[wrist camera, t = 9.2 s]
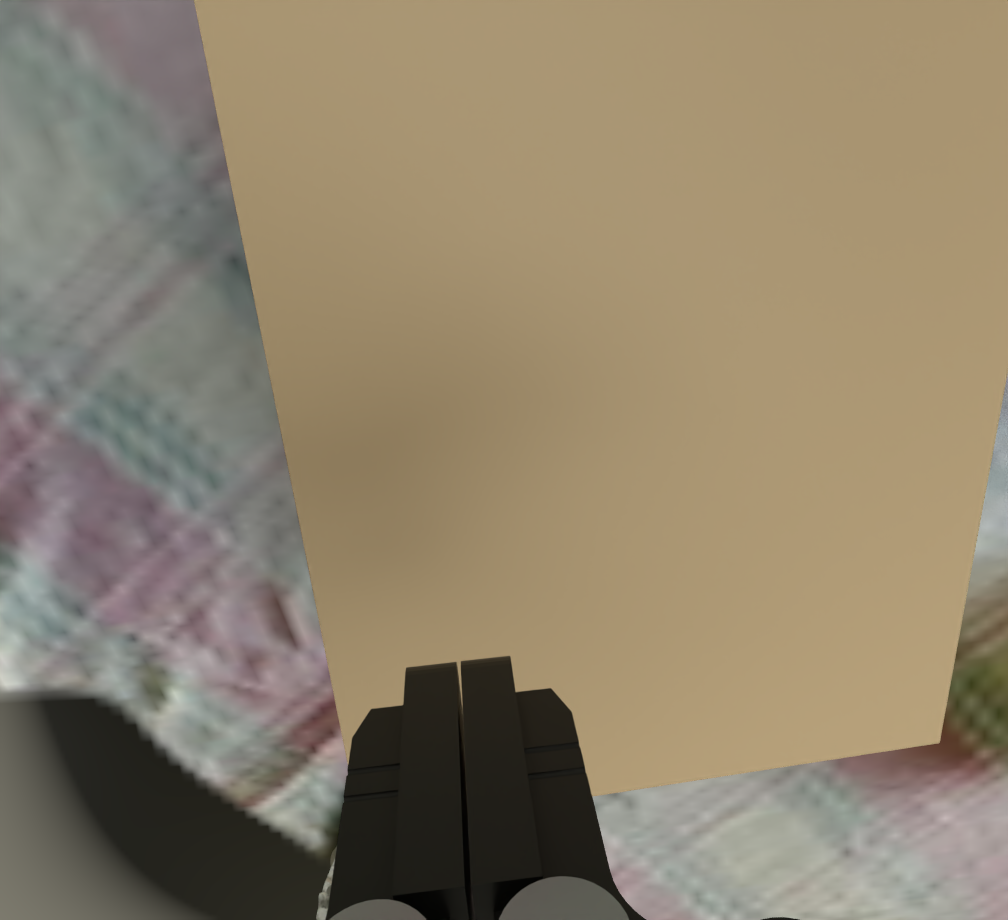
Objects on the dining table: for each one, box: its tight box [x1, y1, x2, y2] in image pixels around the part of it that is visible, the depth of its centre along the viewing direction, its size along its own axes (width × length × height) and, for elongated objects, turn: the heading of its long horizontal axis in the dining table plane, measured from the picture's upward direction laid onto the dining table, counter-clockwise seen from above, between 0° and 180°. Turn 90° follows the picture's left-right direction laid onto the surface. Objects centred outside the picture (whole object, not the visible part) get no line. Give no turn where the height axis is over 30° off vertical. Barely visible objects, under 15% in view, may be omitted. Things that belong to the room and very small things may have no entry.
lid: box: [194, 0, 1008, 796], centre depth 20 cm, size 22×18×1 cm
